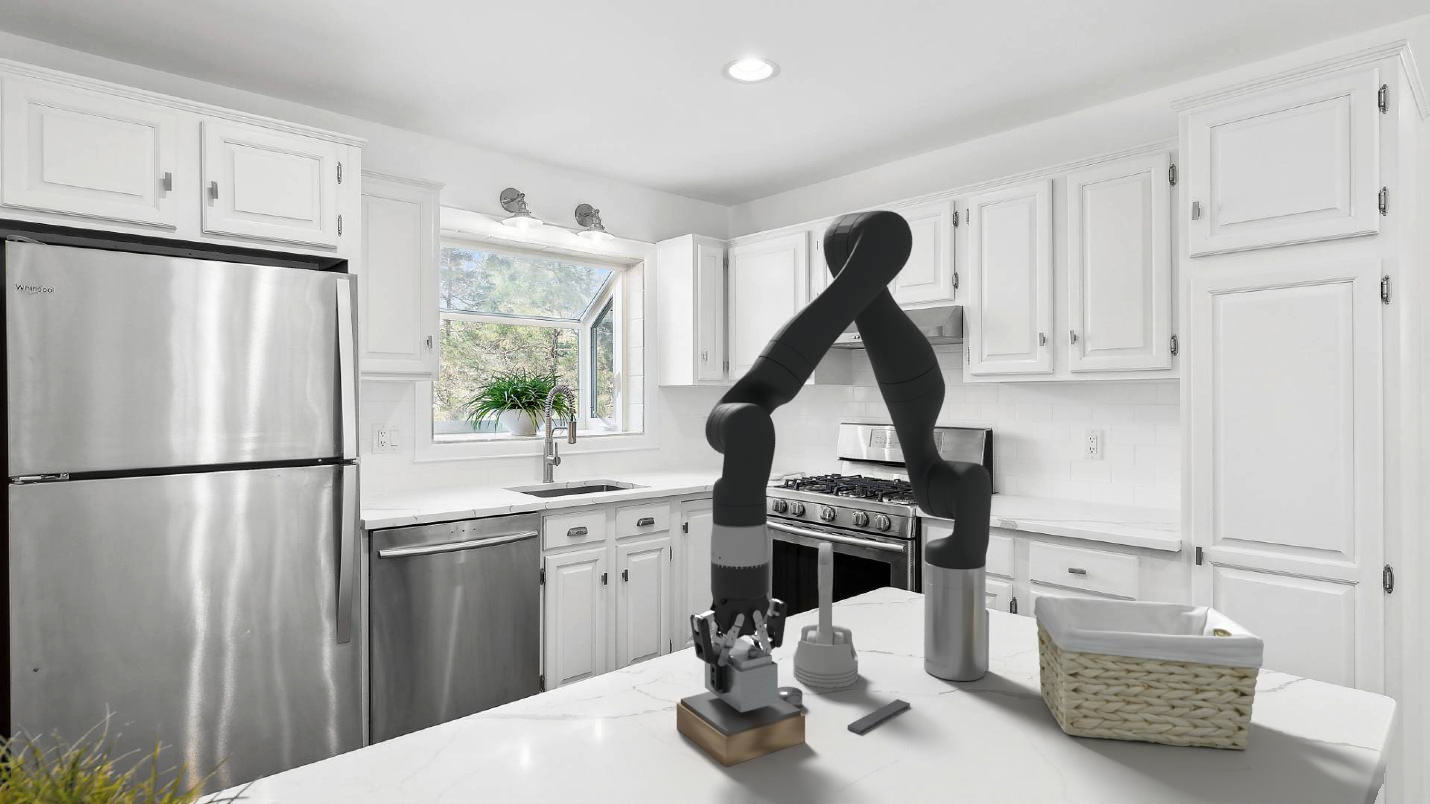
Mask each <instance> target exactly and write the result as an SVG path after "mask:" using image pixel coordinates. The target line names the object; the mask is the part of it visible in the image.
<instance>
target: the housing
mask: <svg viewBox="0 0 1430 804" xmlns="http://www.w3.org/2000/svg"><path fill="white" fill-rule="evenodd" d="M726 637H727V636H726V635H723V638H724V639H725V638H726ZM778 664H779V663H778V662H775V661H773V655H772V654H771V653H770V654H768V653H767V652H765V651H763V650H761V649H759V648H757V647H755V646H754V645H753V644H752V643H749V642H747V641H746V640H744V639H742V637H740V638H737V639H736V641H735V644H734V647H733V648H732V649H730V652H729V655H728V658H727V661H726V663H725V665H727V692H726V693H724V694H720V693H718V692H716V691H715V690H714V688H713V687H712V686H711V684H710V664H708V663H706V662H705V661H704V688H705V689H706V690H708V692H710V691H711V692H712V693H713V694H715V695H716V696H718V697H719V698H721V699H722V700H723V701H725V702H726V703H728V704H729V705H731V706H732V707H733V708H735V709H736V710H738V711H739V712H745V711H749V710H753V709H757V708H760V707H764V706H768V705H772V704H776V703H778V688H779V687H778V686H779V685H778V681H779V679H778V677H779V676H778V674H779V673H778V672H779V671H778V670H779V669H778V668H779V667H778Z"/></svg>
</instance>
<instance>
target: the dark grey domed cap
mask: <svg viewBox="0 0 1430 804" xmlns="http://www.w3.org/2000/svg"><path fill="white" fill-rule="evenodd" d="M778 697H779V698H781V699H782V700H784V701H786V702H788V703H789V704H791V705H793V706H795V707H796V708H798V709H800V708H801V709H803V691H802V689H799V688H798V687H795V686H779V687H778ZM801 709H800V710H801Z"/></svg>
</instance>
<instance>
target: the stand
mask: <svg viewBox="0 0 1430 804" xmlns="http://www.w3.org/2000/svg"><path fill="white" fill-rule="evenodd" d="M676 729H677V730H678V731H679V732H681V733H682V734H683V735H684V736H686V737H687V738H688V739H690V741H692V742H694V743H695V744H696V745H697V746H698V747H699V748H701V749H702V750H703V751H705V752H706V753H707V754H709V756H711V757H713V758H714V759H715V760H717V761H718V762H719V763H720V764H722V765H723V766H724V767H726V768H727V767H730V766H734V765H737V764H740V763H743V762H746V761H748V760H752V759H755V758H756V759H757V758H759V757H761V756H765V755H768V754H771V753H773V752H776V751H777V752H778V751H780V750H784V749H787V748H790V747H792V746H795V745H799V744H802V743H805V742H806V714H804V713H802V710H801V709H798V708H796V707H795V706H793V705H791V704H789V703H788V702H786V701H784V700H782V699H781V698H779V697H778V703H776V704H772V705H768V706H764V707H760V708H757V709H753V710H749V711H745V712H739V711H738V710H736V709H735V708H733V707H732V706H731V705H729V704H728V703H726V702H725V701H723V700H722V699H721V698H719V697H718V696H716V695H715V694H713V693H712V692H711V691H707V692H703V693H698V694H695V695H691V696H686V697H683V698H680V701H679V702H677V703H676Z"/></svg>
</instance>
